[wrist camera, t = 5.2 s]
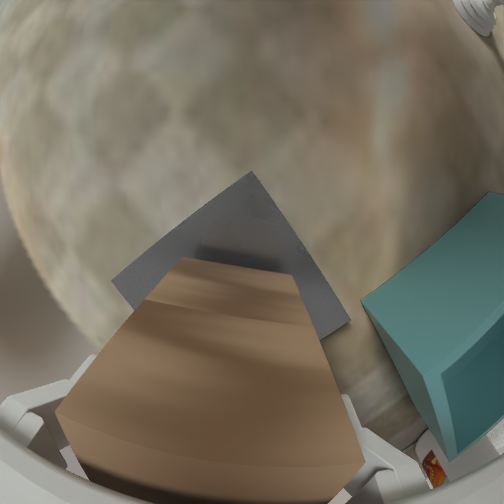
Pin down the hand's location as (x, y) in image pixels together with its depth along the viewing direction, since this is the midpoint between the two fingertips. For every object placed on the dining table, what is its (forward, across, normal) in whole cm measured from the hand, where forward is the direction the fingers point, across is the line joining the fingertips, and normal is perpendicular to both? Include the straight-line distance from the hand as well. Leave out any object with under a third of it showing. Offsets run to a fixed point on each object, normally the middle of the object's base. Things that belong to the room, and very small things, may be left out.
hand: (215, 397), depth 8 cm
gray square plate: (+9, 0, 0) cm, 9 cm away
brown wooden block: (+6, 0, 0) cm, 6 cm away
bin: (+9, -18, -1) cm, 20 cm away
